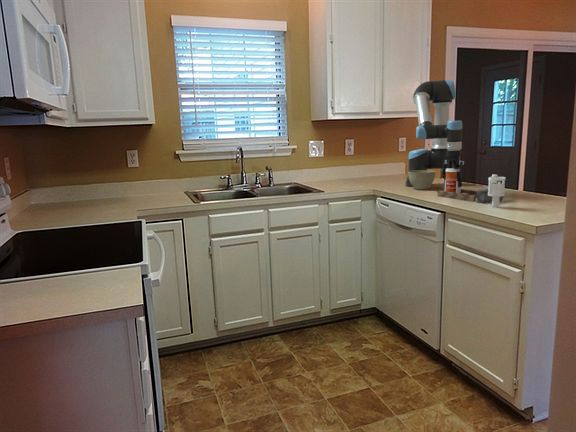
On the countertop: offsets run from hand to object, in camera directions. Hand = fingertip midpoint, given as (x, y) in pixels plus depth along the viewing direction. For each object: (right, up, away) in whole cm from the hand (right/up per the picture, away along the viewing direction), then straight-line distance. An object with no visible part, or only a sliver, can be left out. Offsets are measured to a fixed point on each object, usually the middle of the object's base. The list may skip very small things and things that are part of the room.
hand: (452, 191), depth 235 cm
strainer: (+7, -9, -35) cm, 36 cm away
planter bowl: (-8, +3, +29) cm, 31 cm away
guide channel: (+5, -4, -9) cm, 11 cm away
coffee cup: (0, -2, 0) cm, 2 cm away
